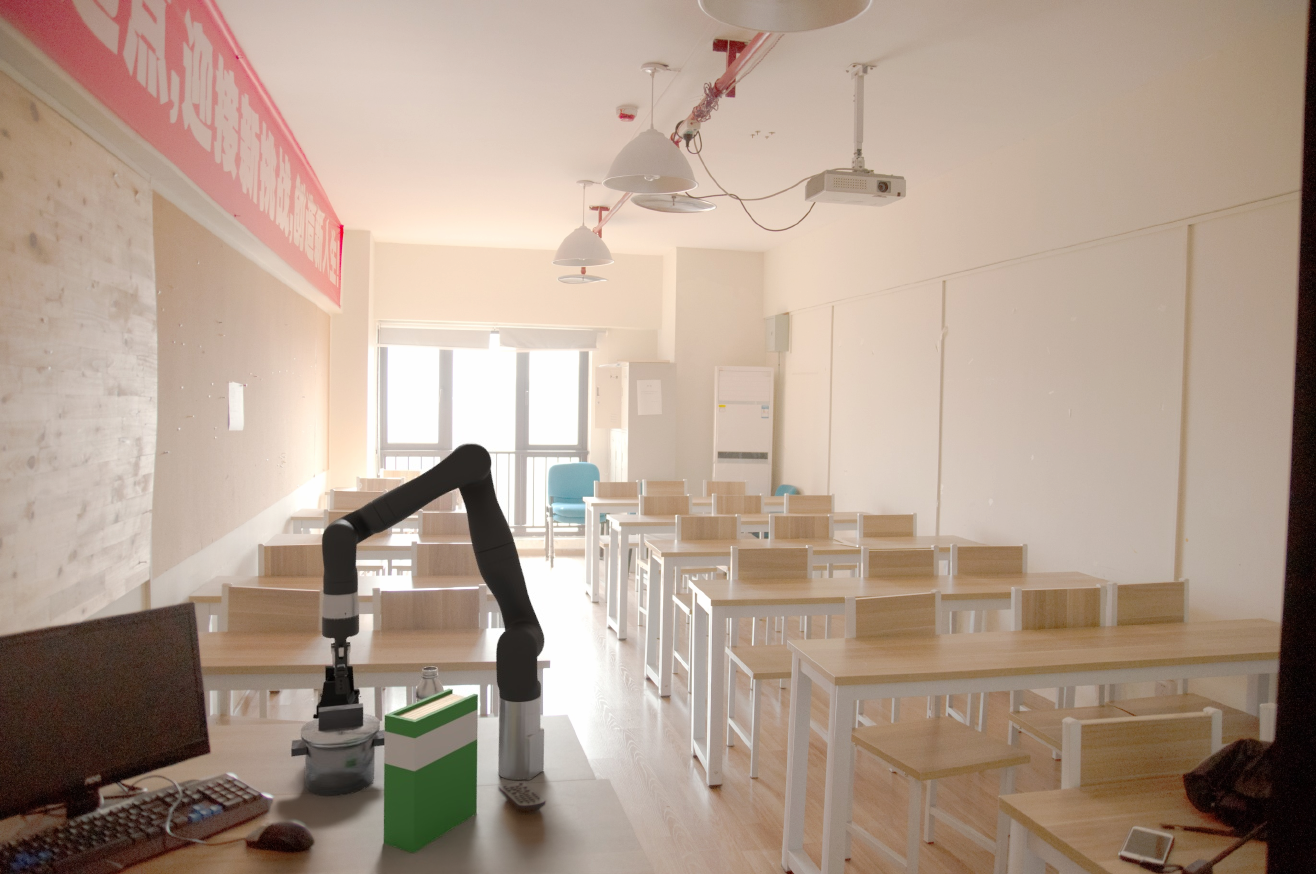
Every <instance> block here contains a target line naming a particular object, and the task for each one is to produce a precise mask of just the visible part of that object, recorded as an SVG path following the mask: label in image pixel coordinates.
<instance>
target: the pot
mask: <svg viewBox="0 0 1316 874" xmlns="http://www.w3.org/2000/svg"><path fill="white" fill-rule="evenodd" d="M384 736H385V729H381V730H380V729H379V731H378V732H377V733H376V734H375V735H373V736H371V737H370V738H367V739H365V740H362V741H358V742H354V743H350V744H344V745H333V746H322V745H314V744H310V743H307V742H305V741H303V740H302V739H301V738H300V739H293V740H291V748H290V749H291V753H290V755H291V757H293V758H294V757H299V756H304V758H305V761H304V762H305V764H304V765H305V766H304V767H305V768H304V769H305V771H304V773H305V774H304V775H305V776H304V777H305V778H304V780H305V781H304V784H305V785H304V787H305V790H306V791H307V792H308V793H310V794H312V795H315V796H320V797H336V796H337V797H338V796H345V795H348V794H354V793H357V792H359V791H362V790H363V789H366V788H367V787H369V786H371V785H372V783H373V782H374V780H375V757H376V755H375V749H376V747H382V746H383V747H384Z"/></svg>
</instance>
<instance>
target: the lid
mask: <svg viewBox="0 0 1316 874" xmlns="http://www.w3.org/2000/svg"><path fill="white" fill-rule="evenodd" d="M380 722H381V720H380V719H379V718H378V717H376V716H374V715H372V714H368V713H364V703H363V702H361V703H360V702H359V704H350V705H341V706H331V707H321V708H319V718H318V719H313V720H310V721H308V722H307V723H305V724H304V725H302V726H301V729H300V740H301V739H302V740H303V741H305V742H307V743H310V744H314V745H322V746H333V745H344V744H350V743H354V742H358V741H362V740H365V739H367V738H370V737H371V736H373V735H375V734H376V733H377V732H378V731H380V729H381V723H380Z"/></svg>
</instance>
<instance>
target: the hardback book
mask: <svg viewBox="0 0 1316 874" xmlns="http://www.w3.org/2000/svg"><path fill="white" fill-rule="evenodd" d="M453 690H454V689H452V688H448V689H444V691H442V692H440V693H437V694H435V695H432V696H430V697H427V698H425V699H423V700H420V701H418V702H413V703H409V704H408V705H406V706H404V707H401V708H398V709H396V710H394V711H391V712H389V713H387V714H384V730H385V736H384V746H383V747H384V748H383V749H384V751H383V753H384V754H383V756H384V758H383V761H384V762H383V844H385V845H387V846H391V847H394V848H396V849H400V850H403V851H406V852H410V853H412V854H415V853H417V852H418V851H420V850H422V849H423V848H424V847H426V846H428V845H429V844H431V843H432V842H433V841H436V840H437V839H438V838H440V837H442V836H443V835H445V834H446V833H448V832H449V831H451V830H453V829H455V828H456V827H457V826H460V825H461V824H462V823H464V822H465V821H467V820H468V819H470V818H472V817H473V816H474V815H476V814H477V812H478V810H477V808H478V805H477V804H478V803H477V802H478V798H477V797H478V796H477V795H478V723H479V722H478V721H479V720H478V719H479V718H478V716H479V715H478V713H479V712H478V711H479V709H478V707H479V704H478V703H479V697H478V696H479V695H478V694H477V693H473V694H472V693H471V695H468V696H464V695H460V694H454V693H453Z"/></svg>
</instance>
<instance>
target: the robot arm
mask: <svg viewBox="0 0 1316 874" xmlns="http://www.w3.org/2000/svg"><path fill="white" fill-rule="evenodd" d="M456 489H458V490H459V493H460V495H461V498H462V500H463V501H462V502H463V505H464V507H465V510H466V515H467V522H468V523H467V524H468V531H469V534H470V535H469V536H470V542H471V545H472V550H473V553H474V557H475V560H476V563H477V564H476V565H477V567H478V570H479V571H478V572H479V573H480V575H481V577H482V580H483V581H484V583H485V585H486V586H487V588H488V589H489V591H490V592H491V594H492V596H493V597H494V598H495V600H496V603H497V604H498V607H499V609H500V614H501V617H502V618H501V619H502V622H503V626H504V631H503V632H502V633H501V634H500V636H499V638H498V640H497V643H496V649H495V650H496V652H495V653H496V654H495V660H496V661H495V662H496V665H495V667H496V670H495V672H496V685H497V687H498V692H499V693H498V695H499V699H498V700H499V701H498V766H497V767H498V772H497V773H498V775H499V776H500V777H501V778H503V779H505V780H511V781H512V780H514V781H517V780H518V781H520V780H521V781H522V780H527V781H530V780H532V779H533V778H535V777H536V776H537V775H538V774H540V773H542V772H543V771H544V770H545V769H544V768H545V767H544V764H545V729H544V728H543V727H541V720H542V719H541V715H542V713H541V711H542V709H541V708H542V707H541V706H542V684H541V682H540V680H539V678H538V657H539V656H540V654H541V653H542V652H543V650H544V646H545V634H544V632H543V628H542V626H541V624H540V623H541V622H540V621H539V619H538V617H537V614H536V612H535V609H534V607H533V604H532V601H531V599H530V596H529V593H528V592H529V591H528V587H527V584H526V580H525V576H524V572H523V569H522V566H521V561H520V557H519V554H518V549H517V546H516V543H515V540H514V539H515V538H514V536H513V533H512V531H511V528H510V525H509V523H508V522H507V518H506V516H505V514H504V512H503V510H502V508H501V506H500V504H499V501H498V499H497V494H496V490H495V486H494V481H493V475H492V457H491V454H490V452H489V451H488V450H487V449H486V447H484V446H483V445H481V444H478V443H476V442H465V443H463V444H460V445H458V446H457V447H456V448H455V449H453V451H452V452H451V453H450V454H449V455H447V456H446V457H444V458H443V459H442V460H441V461H440V462H439V463H437V464H435V466H433V467H431V468H430V469H428V470H427V471H424V473H422V474H421V475H418V476H417V477H414V478H413V479H411V480H409V481H407V482H405V483H403V484H401V485H399V486H397V487H395V488H393V489H391V490H389V491H387V492H385V493H383V494H381V495H379V496H378V497H376V498H374V499H373V500H371V501H369V502H368V503H366V504H364V506H362V507H361V508H358V509H356V510H354V511H351V512H350V513H347V514H346V515H343V516H342V517H340V518H337V519H335V520H333V521H331V523H329V524H328V526H327V527H326V528H325V530H324V531H323V534H322V537H321V550H322V551H321V553H322V564H323V576H322V577H323V578H322V582H323V584H322V587H323V590H322V592H323V595H322V603H321V635H322V637H324V638H326V639H333V640H334V641H333V642H331V643H330V653H331V658H332V659H331V660H332V662H331V663H332V664H331V666H333V667H334V668H335V672H334V675H335V692H336V694H345V693H346V692H347V674H348V671H347V666H350V658H351V657H350V654H351V651H352V650H351V649H352V648H351V641H347V640H348V638H349V637H355V636H357V635H358V634H359V633H360V597H359V574H358V573H359V572H358V568H357V547H358V544H361V543H362V542H363V541H365V540H367V539H368V538H370V537H372V536H373V535H375V534H380V533H382V532H384V531H386V530H388V529H390V528H392V527H394V526H396V525H397V524H399V523H401V522H402V521H403V520H406V519H407V518H409V517H411V516H412V515H413V514H415V513H417V512H418V511H420V510H421V509H423V508H424V507H426V506H427V505H428V504H429V503H433V501H435V500H436V499H438V498H440V497H442V496H443V495H446V494H447V493H449V492H452V491H454V490H456Z"/></svg>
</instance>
